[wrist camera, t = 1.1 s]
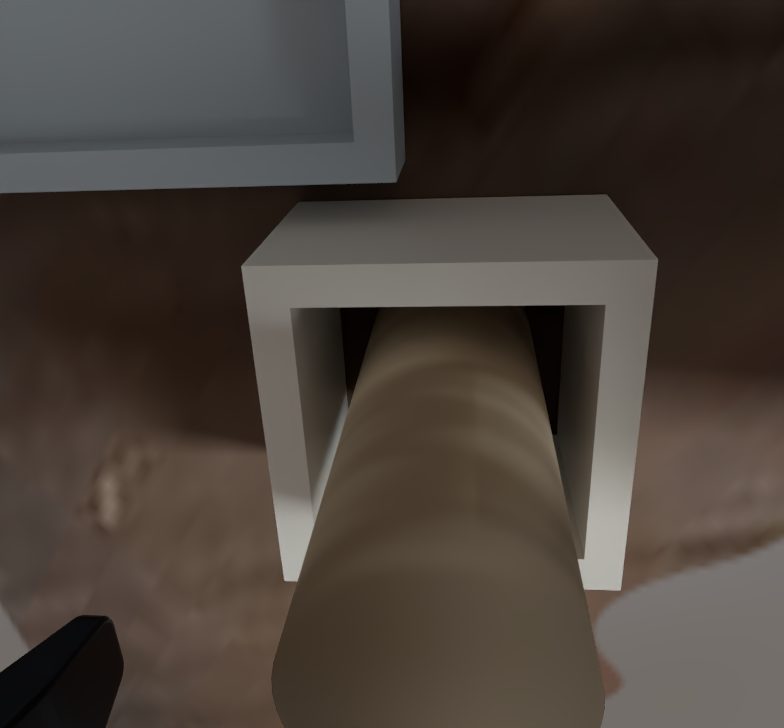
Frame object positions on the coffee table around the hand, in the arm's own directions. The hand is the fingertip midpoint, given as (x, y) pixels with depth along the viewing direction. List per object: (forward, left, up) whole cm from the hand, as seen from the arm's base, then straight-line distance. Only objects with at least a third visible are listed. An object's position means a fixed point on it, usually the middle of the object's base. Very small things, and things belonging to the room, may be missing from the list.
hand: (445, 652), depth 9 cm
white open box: (0, 0, -10) cm, 10 cm away
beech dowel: (0, 0, -10) cm, 10 cm away
